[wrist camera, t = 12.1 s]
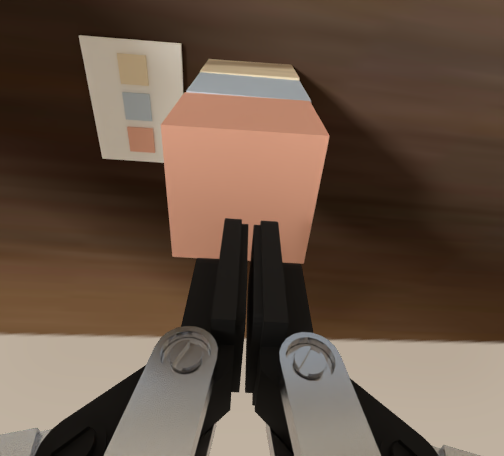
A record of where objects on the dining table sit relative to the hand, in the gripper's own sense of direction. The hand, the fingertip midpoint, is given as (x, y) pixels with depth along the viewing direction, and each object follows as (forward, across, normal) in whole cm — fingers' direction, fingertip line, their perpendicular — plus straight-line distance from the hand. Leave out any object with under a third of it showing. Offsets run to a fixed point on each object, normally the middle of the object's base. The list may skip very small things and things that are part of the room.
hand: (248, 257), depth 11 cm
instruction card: (+18, +9, 0) cm, 20 cm away
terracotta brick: (+8, 0, 0) cm, 8 cm away
